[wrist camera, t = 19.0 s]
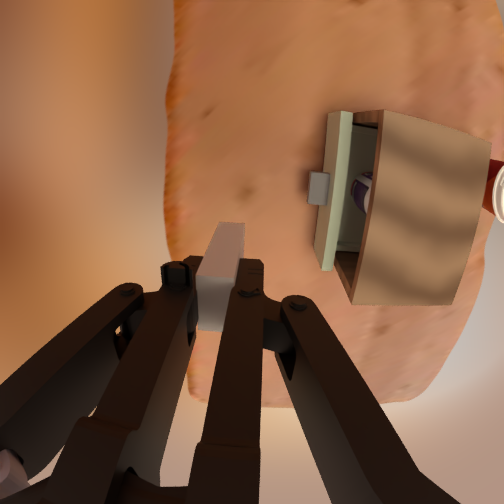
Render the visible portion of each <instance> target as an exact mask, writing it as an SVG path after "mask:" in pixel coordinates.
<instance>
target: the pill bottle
mask: <svg viewBox="0 0 504 504" xmlns="http://www.w3.org/2000/svg"><path fill="white" fill-rule="evenodd" d="M372 177H373V172H363V173H360V174H359V175H357V176H356V177H355V178H354V180H353V181H352V183H351V186H350V197H351V199H352V201H353V203H354V204H355V205H356V206H357V207H358V208H359V209H360V210H361V211H362V212H364V213H365V214H366V215H367V210H368V204H369V198H370V191H371V184H372Z"/></svg>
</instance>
